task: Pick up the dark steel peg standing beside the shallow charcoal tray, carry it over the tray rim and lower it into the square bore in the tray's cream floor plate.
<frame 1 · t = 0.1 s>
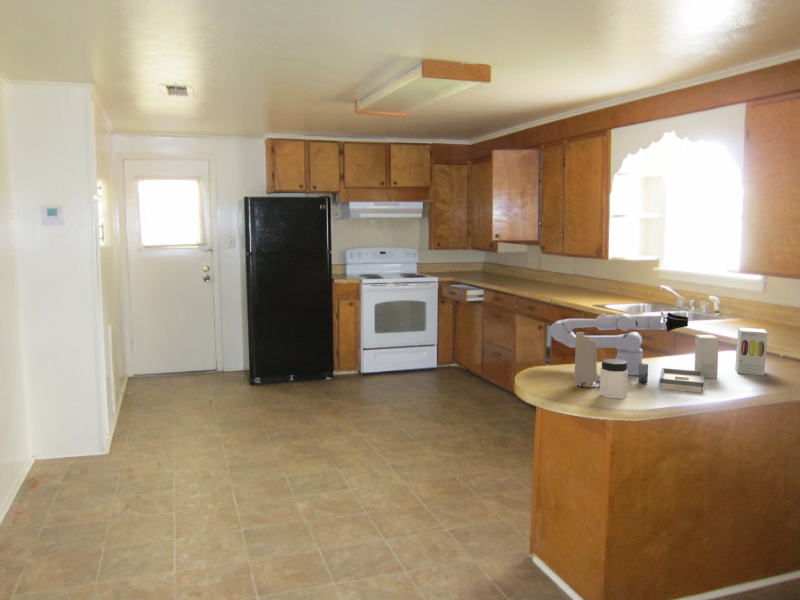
hand: (688, 321, 237), 22 cm above the countertop, tool horizontal, fingers open, 7 cm apart
jar: (613, 396, 216), on the countertop
peg: (642, 382, 233), on the countertop
supplement box: (749, 372, 248), on the countertop
beige stepped upright panel: (593, 385, 230), on the countertop
skincare box: (704, 376, 242), on the countertop
tray: (681, 384, 230), on the countertop
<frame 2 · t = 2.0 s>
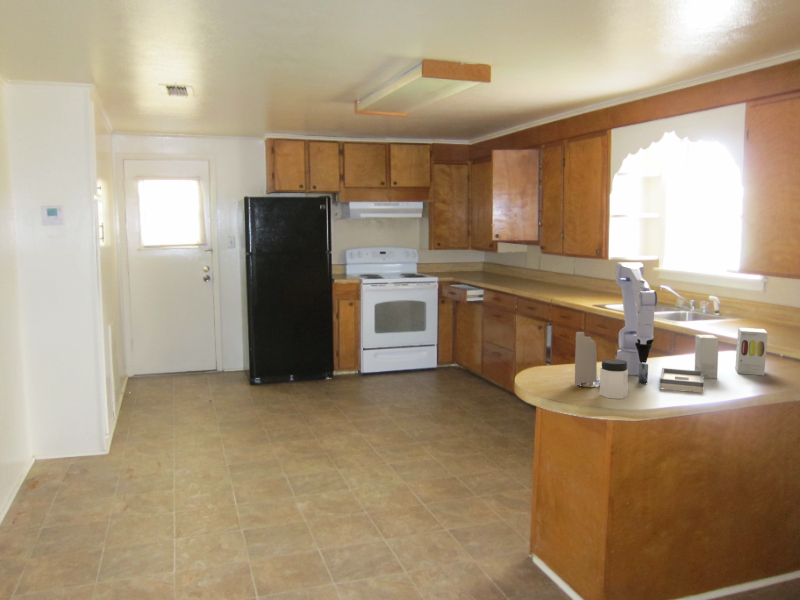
hand: (643, 360, 232), 8 cm above the countertop, tool pointing down, fingers open, 7 cm apart
nothing on the countertop moved.
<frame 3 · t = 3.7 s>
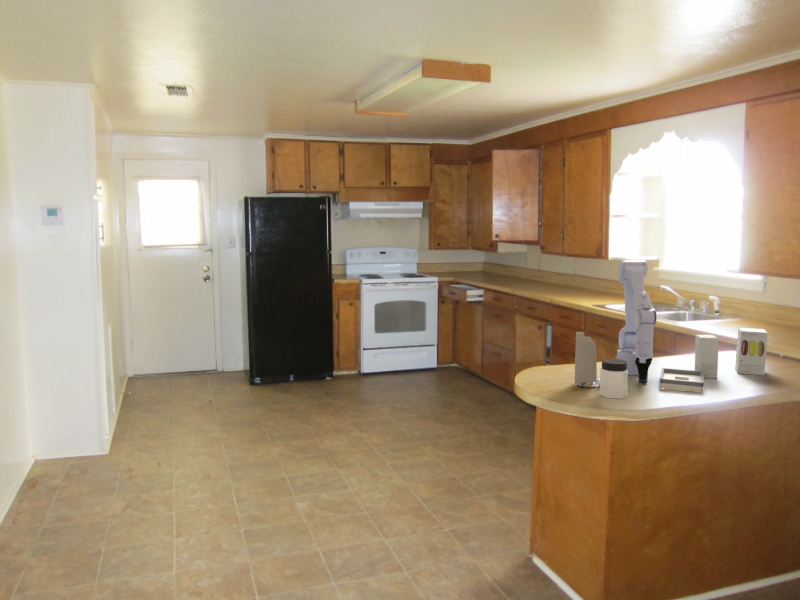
hand: (642, 378, 233), 2 cm above the countertop, tool pointing down, fingers closed on peg, 3 cm apart
peg: (642, 382, 233), on the countertop, touching gripper
everything else where it was.
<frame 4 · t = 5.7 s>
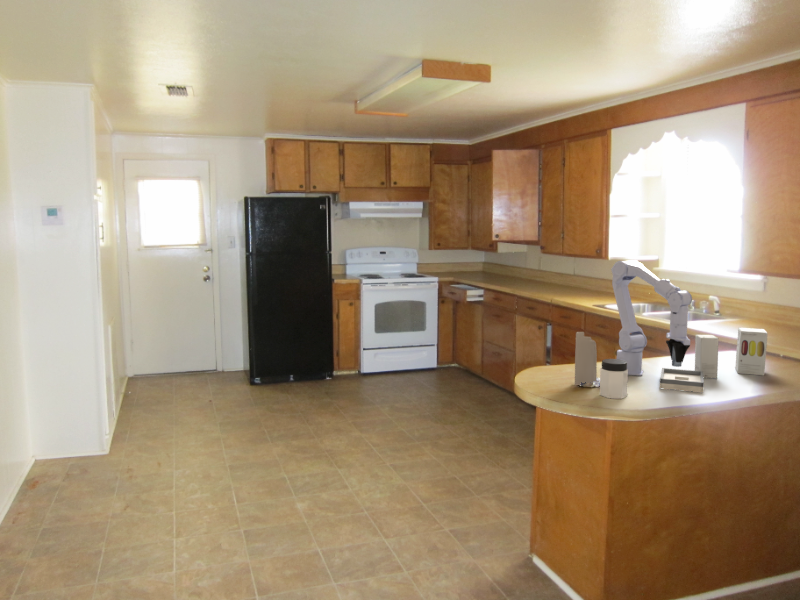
hand: (676, 361, 230), 8 cm above the countertop, tool pointing down, fingers closed on peg, 3 cm apart
peg: (676, 365, 230), point 7 cm above the countertop, touching gripper
everything else where it was.
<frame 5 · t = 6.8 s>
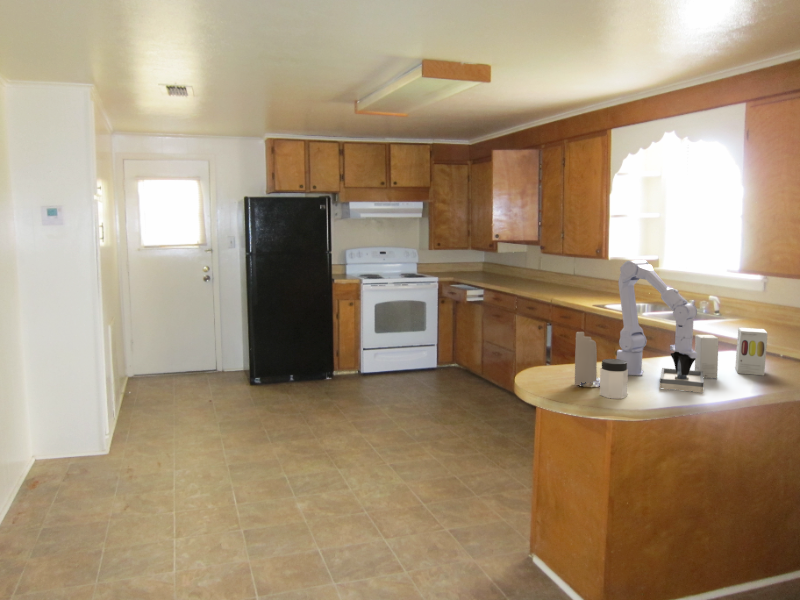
hand: (682, 373, 231), 4 cm above the countertop, tool pointing down, fingers closed on peg, 3 cm apart
peg: (681, 378, 231), point 2 cm above the countertop, touching gripper
everything else where it was.
when the fingers open (3 cm above the countertop, at t = 7.7 s): peg drops 1 cm, resting in tray.
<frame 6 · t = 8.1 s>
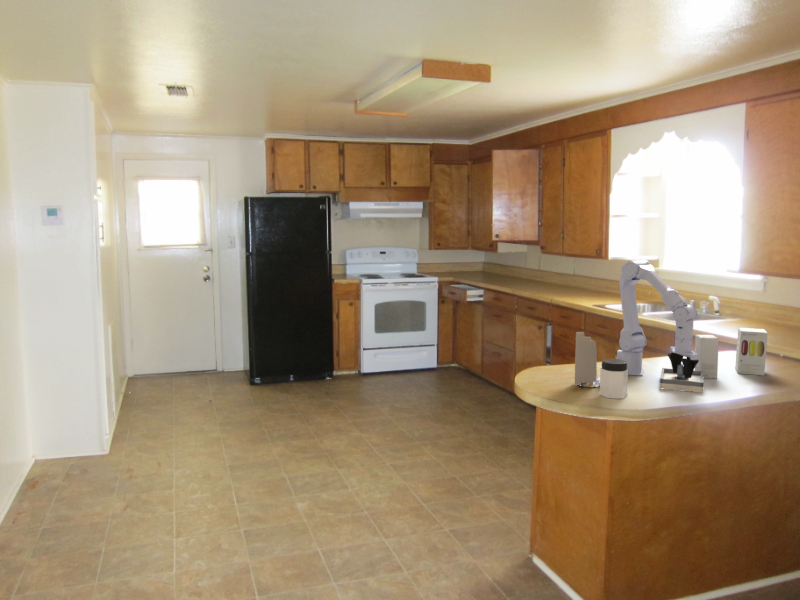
hand: (681, 375, 231), 3 cm above the countertop, tool pointing down, fingers open, 7 cm apart
peg: (681, 383, 231), resting in tray
everything else where it was.
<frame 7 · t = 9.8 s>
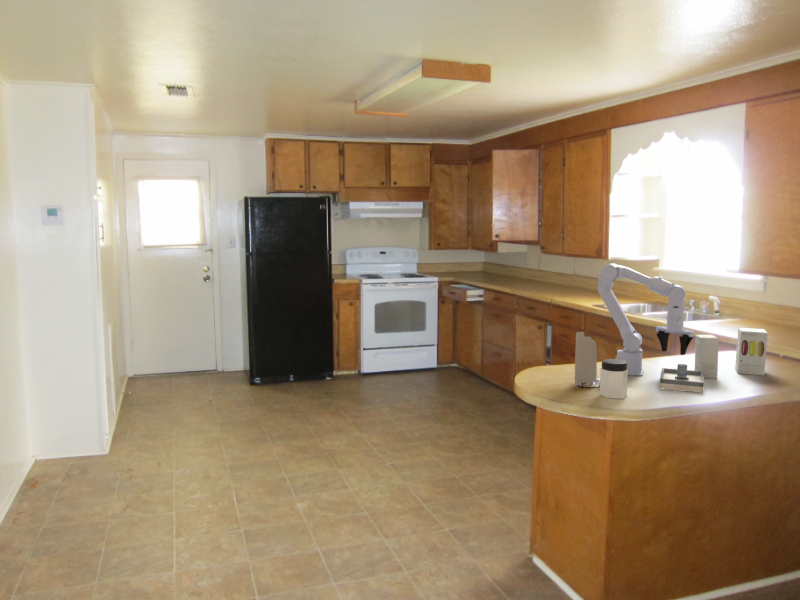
hand: (673, 352, 240), 9 cm above the countertop, tool pointing down, fingers open, 7 cm apart
nothing on the countertop moved.
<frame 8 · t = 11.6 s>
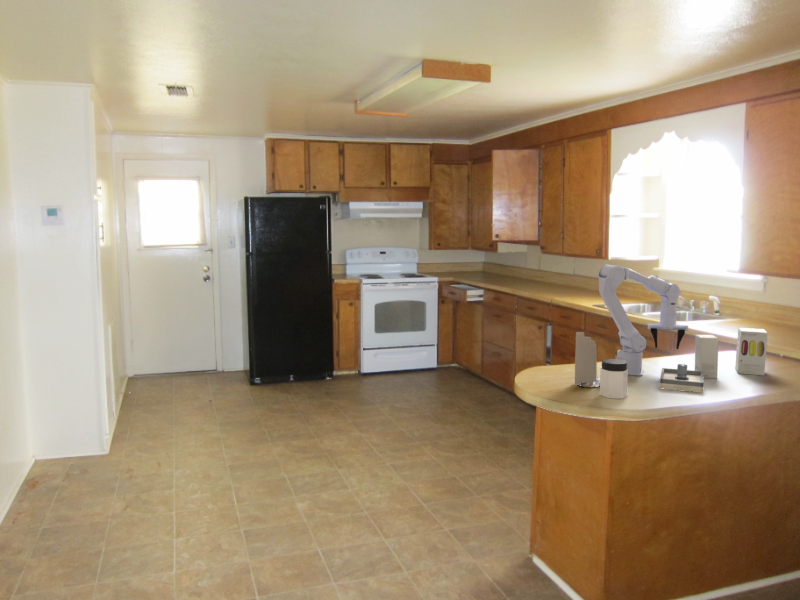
hand: (666, 348, 249), 9 cm above the countertop, tool pointing down, fingers open, 7 cm apart
nothing on the countertop moved.
at the end: peg 0.0 cm off-centre on the tray, point 0.0 cm above the tray's base; peg tilted 0°; the gripper is holding nothing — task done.
